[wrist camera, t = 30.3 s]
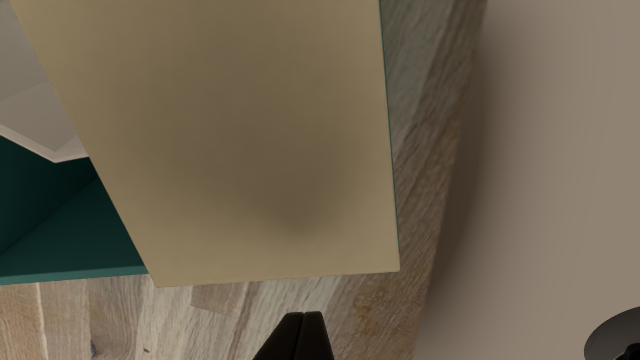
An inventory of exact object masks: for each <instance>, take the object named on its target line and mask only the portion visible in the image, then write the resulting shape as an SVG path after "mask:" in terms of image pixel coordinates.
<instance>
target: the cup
mask: <svg viewBox="0 0 640 360" xmlns="http://www.w3.org/2000/svg"><path fill="white" fill-rule="evenodd" d="M0 135H2V136H4V137H5V138H7V139H9V140H11V141H13V142H15V143H17V144H19V145H21V146H23V147H25V148H27V149H29V150H31V151H33V152H35V153H37V154H39V155H41V156H43V157H44V158H46V159H48V160H50V161H52V162H54V163H56V162H62V161H67V160H73V159H78V158H83V157H89V156H88V154H87V152H86V150H85V148H84V146H83V144H82V142H81V140H80V138H79V136H78V134H77V132H76V130H75V128H74V127H73V125H72V123H71V121H70V119H69V117H68V115H67V113H66V111H65V109H64V107H63V105H62V103H61V101H60V99H59V97H58V96H57V94H56V92H55V90H54V88H53V86H52V84H51V82H50V80H49V78H48V76H47V74H46V72H45V70H44V68H43V66H42V64H41V63H40V61H39V59H38V57H37V55H36V53H35V51H34V49H33V47H32V45H31V43H30V41H29V39H28V37H27V35H26V33H25V32H24V30H23V28H22V26H21V24H20V22H19V20H18V18H17V16H16V14H15V12H14V10H13V8H12V6H11V4H10V2H9V0H0Z"/></svg>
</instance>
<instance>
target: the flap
mask: <svg viewBox="0 0 640 360" xmlns="http://www.w3.org/2000/svg"><path fill="white" fill-rule="evenodd" d="M9 2H10V4H11V6H12V8H13V10H14V12H15V14H16V16H17V18H18V20H19V22H20V24H21V26H22V28H23V30H24V32H25V33H26V35H27V37H28V39H29V41H30V43H31V45H32V47H33V49H34V51H35V53H36V55H37V57H38V59H39V61H40V63H41V64H42V66H43V68H44V70H45V72H46V74H47V76H48V78H49V80H50V82H51V84H52V86H53V88H54V90H55V92H56V94H57V96H58V97H59V99H60V101H61V103H62V105H63V107H64V109H65V111H66V113H67V115H68V117H69V119H70V121H71V123H72V125H73V127H74V128H75V130H76V132H77V134H78V136H79V138H80V140H81V142H82V144H83V146H84V148H85V150H86V152H87V154H88V156H89V158H90V160H91V161H92V163H93V165H94V167H95V169H96V171H97V173H98V175H99V177H100V179H101V181H102V183H103V185H104V187H105V189H106V191H107V193H108V194H109V196H110V198H111V200H112V202H113V204H114V206H115V208H116V210H117V212H118V214H119V216H120V218H121V220H122V222H123V224H124V225H125V227H126V229H127V231H128V233H129V235H130V237H131V239H132V241H133V243H134V245H135V247H136V249H137V251H138V253H139V255H140V257H141V258H142V260H143V262H144V264H145V266H146V268H147V270H148V272H149V274H150V276H151V278H152V280H153V282H154V284H155V286H156V287H157V288H160V287H174V286H189V285H204V284H218V283H233V282H248V281H263V280H277V279H292V278H307V277H322V276H336V275H351V274H366V273H381V272H395V271H400V260H399V248H398V235H397V222H396V210H395V197H394V185H393V172H392V160H391V147H390V135H389V122H388V110H387V97H386V85H385V72H384V60H383V47H382V35H381V22H380V9H379V0H9Z"/></svg>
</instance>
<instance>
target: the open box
mask: <svg viewBox="0 0 640 360" xmlns="http://www.w3.org/2000/svg"><path fill="white" fill-rule="evenodd" d="M379 9H380V22H381V35H382V47H383V60H384V72H385V85H386V97H387V110H388V122H389V135H390V147H391V160H392V172H393V159H392V146H391V134H390V121H389V108H388V95H387V82H386V70H385V57H384V44H383V31H382V19H381V6H380V0H379ZM393 185H394V172H393ZM394 197H395V185H394ZM395 210H396V197H395ZM396 222H397V210H396ZM397 235H398V223H397ZM398 248H399V236H398ZM399 253H400V249H399ZM137 274H149V272H148V270H147V268H146V266H145V264H144V262H143V260H142V258H141V257H140V255H139V253H138V251H137V249H136V247H135V245H134V243H133V241H132V239H131V237H130V235H129V233H128V231H127V229H126V227H125V225H124V224H123V222H122V220H121V218H120V216H119V214H118V212H117V210H116V208H115V206H114V204H113V202H112V200H111V198H110V196H109V194H108V193H107V191H106V189H105V187H104V185H103V183H102V181H101V179H100V177H99V175H98V173H97V171H96V169H95V167H94V165H93V163H92V161H91V160H90V158H89V157H83V158H78V159H73V160H67V161H62V162H56V163H54V162H52V161H50V160H48V159H46V158H44V157H43V156H41V155H39V154H37V153H35V152H33V151H31V150H29V149H27V148H25V147H23V146H21V145H19V144H17V143H15V142H13V141H11V140H9V139H7V138H5V137H4V136H2V135H0V285H9V284H22V283H34V282H47V281H60V280H73V279H86V278H99V277H111V276H124V275H137Z"/></svg>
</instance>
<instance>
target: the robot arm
mask: <svg viewBox="0 0 640 360" xmlns="http://www.w3.org/2000/svg"><path fill="white" fill-rule="evenodd" d="M252 360H334V356H333V353H332V349H331V345H330V342H329V338H328V334H327V331H326V327H325V323H324V320H323V316H322V313H321V312H320V311H314V312H305V313H303V312H290V313H287V314H286V315H285V316H284V317H283V318H282V320H281V321H280V323H279V324H278V325H277V327H276V328H275V329H274V331H273V332H272V333H271V335H270V336H269V338H268V339H267V340H266V342H265V343H264V344H263V346H262V347H261V348H260V350H259V351H258V353H257V354H256V355H255V357H254V358H253V359H252ZM622 360H640V343H633V344H630V345H629V346H627V348H626V350H625V353H624V355H623V358H622Z"/></svg>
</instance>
